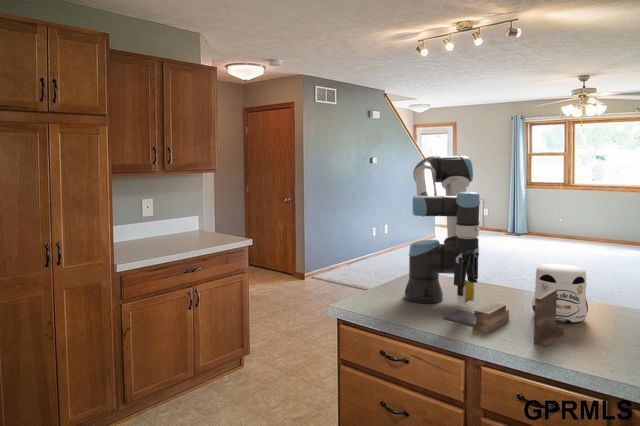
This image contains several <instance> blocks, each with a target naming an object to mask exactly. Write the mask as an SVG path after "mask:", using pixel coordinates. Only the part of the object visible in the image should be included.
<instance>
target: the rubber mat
mask: <svg viewBox="0 0 640 426" xmlns="http://www.w3.org/2000/svg"><path fill="white" fill-rule="evenodd" d="M442 318H443V319H444V320H448V321H450V322H454V323H455V322H456V323H460V324H463V325H467V326H471V327H473V323H474V322H476V317H474V312H471V311H466V310H462V309H457V310H455V311H453V312H451V313H449V314H447V315H444V316H443V317H442Z"/></svg>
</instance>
